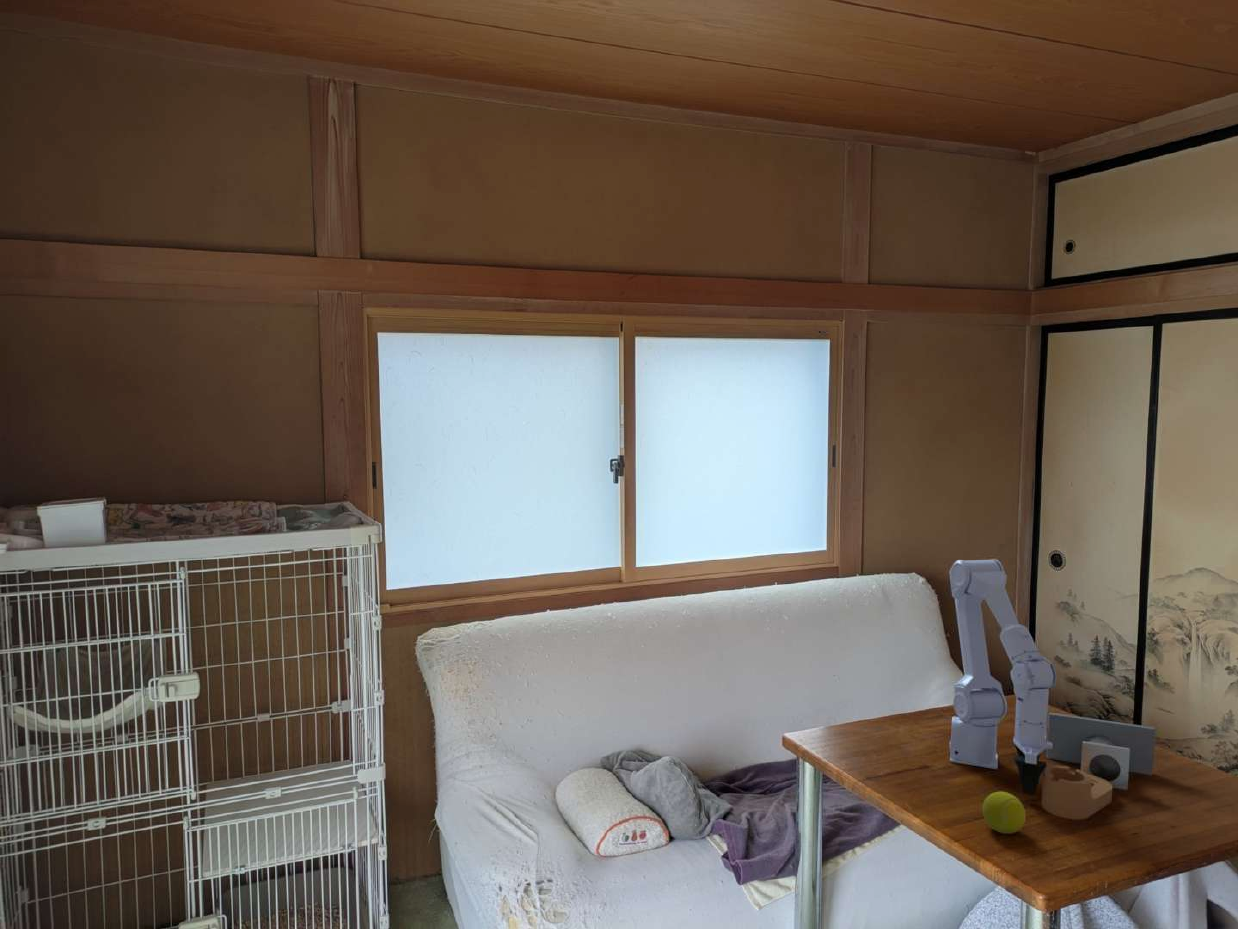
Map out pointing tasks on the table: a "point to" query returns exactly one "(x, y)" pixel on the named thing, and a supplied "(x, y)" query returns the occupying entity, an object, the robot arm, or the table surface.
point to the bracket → (1073, 792)
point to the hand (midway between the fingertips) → (1027, 785)
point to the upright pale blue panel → (1102, 747)
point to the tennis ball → (1004, 812)
